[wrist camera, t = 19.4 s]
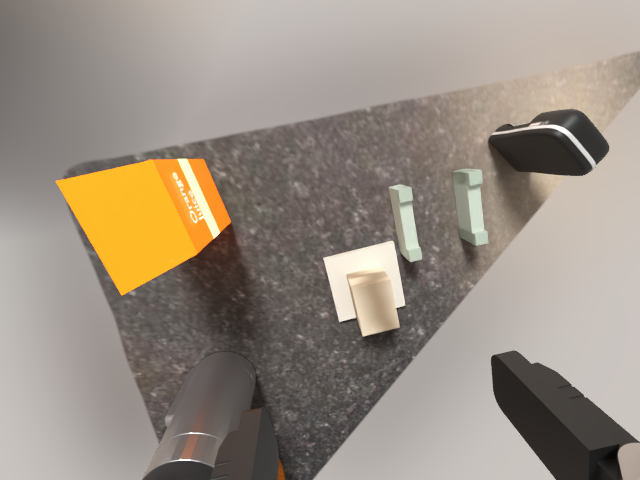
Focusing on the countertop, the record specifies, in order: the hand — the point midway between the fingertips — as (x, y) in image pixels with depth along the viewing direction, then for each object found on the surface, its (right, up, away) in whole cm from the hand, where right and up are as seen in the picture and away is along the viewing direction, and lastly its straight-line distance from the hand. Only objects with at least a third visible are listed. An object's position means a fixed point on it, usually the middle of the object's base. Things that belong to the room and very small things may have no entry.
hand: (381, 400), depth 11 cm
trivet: (+4, 0, +34) cm, 34 cm away
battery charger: (+23, +18, +30) cm, 43 cm away
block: (+5, -2, +34) cm, 34 cm away
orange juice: (-19, +11, +30) cm, 37 cm away
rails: (+13, +9, +32) cm, 36 cm away
